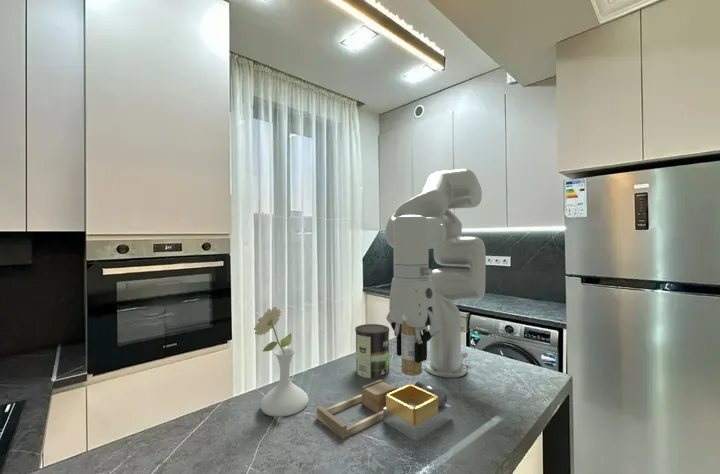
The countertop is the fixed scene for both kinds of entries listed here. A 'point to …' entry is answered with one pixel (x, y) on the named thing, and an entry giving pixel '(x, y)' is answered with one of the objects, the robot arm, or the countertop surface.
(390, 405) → the gold open box
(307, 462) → the countertop surface
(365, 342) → the coffee can
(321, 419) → the tray
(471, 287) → the robot arm
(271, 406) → the flower in vase
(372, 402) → the tan cardboard box
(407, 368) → the sprinkles bottle
